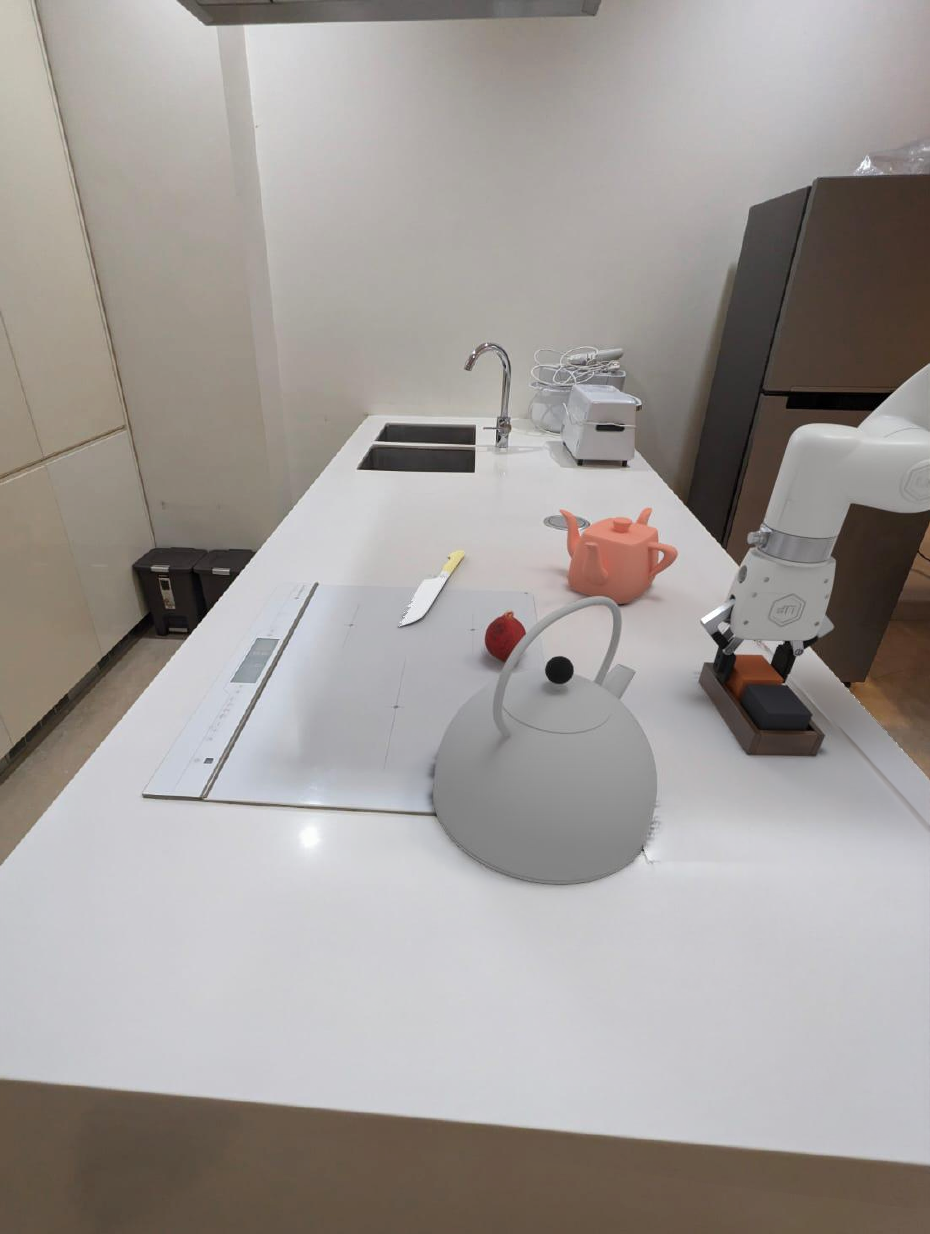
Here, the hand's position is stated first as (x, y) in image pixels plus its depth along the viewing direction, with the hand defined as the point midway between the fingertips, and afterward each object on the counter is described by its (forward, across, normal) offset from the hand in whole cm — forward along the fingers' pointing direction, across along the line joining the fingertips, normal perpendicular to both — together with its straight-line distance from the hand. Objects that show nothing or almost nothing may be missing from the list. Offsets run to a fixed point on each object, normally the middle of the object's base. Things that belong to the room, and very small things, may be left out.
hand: (748, 676), depth 80 cm
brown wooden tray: (+4, 0, -4) cm, 5 cm away
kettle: (+4, -28, -18) cm, 33 cm away
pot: (+4, -9, +36) cm, 38 cm away
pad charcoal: (+4, 0, -7) cm, 8 cm away
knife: (+4, -40, +34) cm, 53 cm away
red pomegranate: (+4, -30, +9) cm, 32 cm away
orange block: (+4, 0, 0) cm, 4 cm away
